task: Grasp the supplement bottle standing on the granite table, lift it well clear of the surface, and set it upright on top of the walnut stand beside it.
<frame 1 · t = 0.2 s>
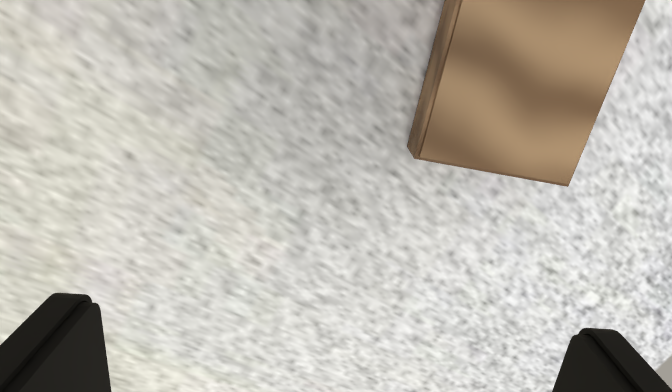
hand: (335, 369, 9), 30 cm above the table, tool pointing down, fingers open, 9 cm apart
walnut stand: (506, 73, 36), on the table
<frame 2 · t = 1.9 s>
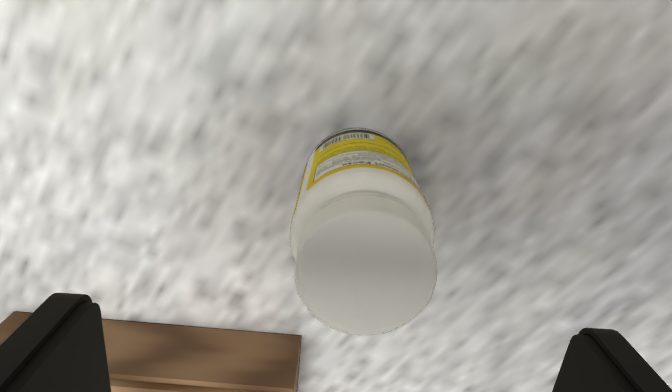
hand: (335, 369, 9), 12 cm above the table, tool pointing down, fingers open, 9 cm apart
supplement bottle: (356, 176, 20), on the table
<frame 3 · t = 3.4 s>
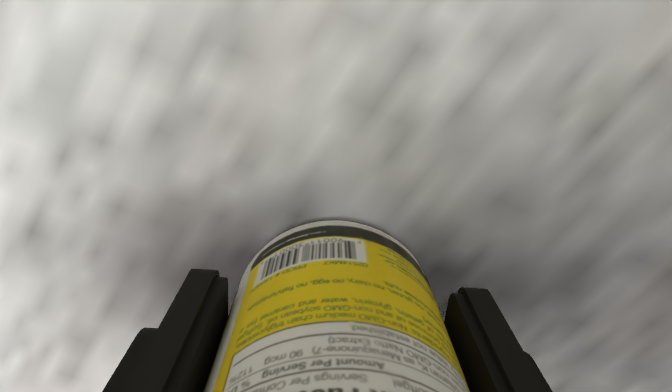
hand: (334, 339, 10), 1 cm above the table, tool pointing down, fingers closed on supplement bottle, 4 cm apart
supplement bottle: (334, 296, 11), on the table, touching gripper
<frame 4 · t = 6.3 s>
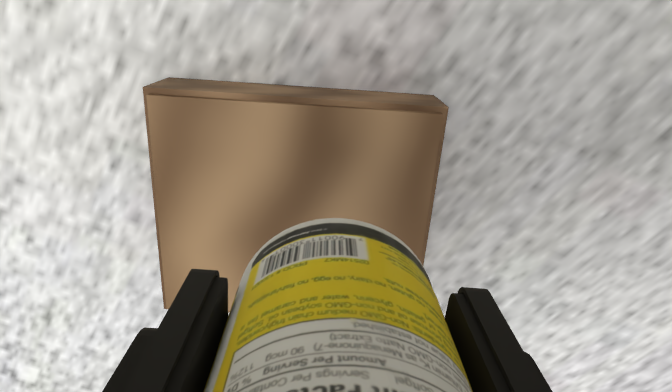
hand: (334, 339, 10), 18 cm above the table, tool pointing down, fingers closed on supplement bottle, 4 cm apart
walnut stand: (298, 192, 28), on the table
supplement bottle: (335, 294, 11), point 16 cm above the table, touching gripper
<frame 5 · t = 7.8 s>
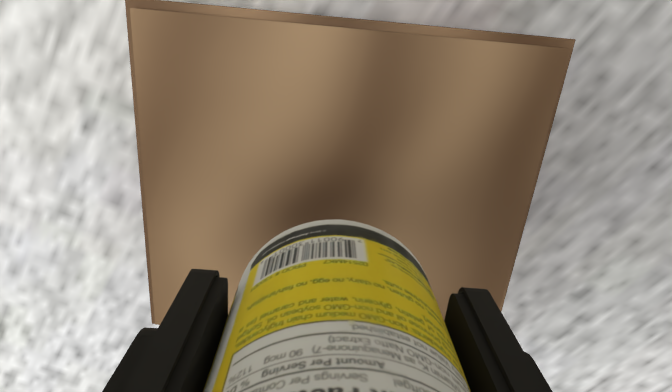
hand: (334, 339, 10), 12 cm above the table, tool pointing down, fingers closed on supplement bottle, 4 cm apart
walnut stand: (336, 169, 20), on the table
supplement bottle: (334, 295, 11), point 10 cm above the table, touching gripper
when the fingers open (7 cm above the table, at t = 9.0 s): supplement bottle drops 1 cm, resting on walnut stand.
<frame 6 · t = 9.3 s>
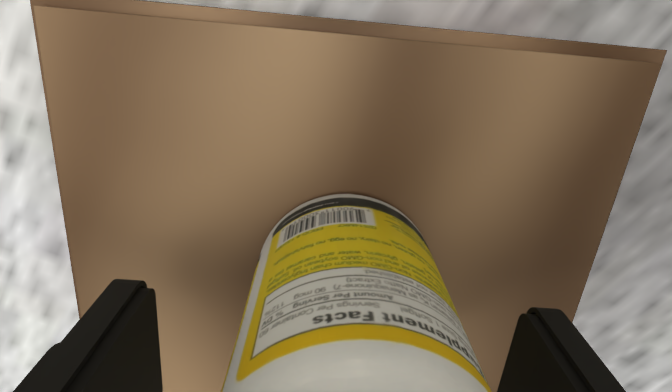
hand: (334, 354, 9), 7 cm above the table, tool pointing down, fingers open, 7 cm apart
walnut stand: (333, 211, 16), on the table
supplement bottle: (344, 264, 13), point 4 cm above the table, touching walnut stand
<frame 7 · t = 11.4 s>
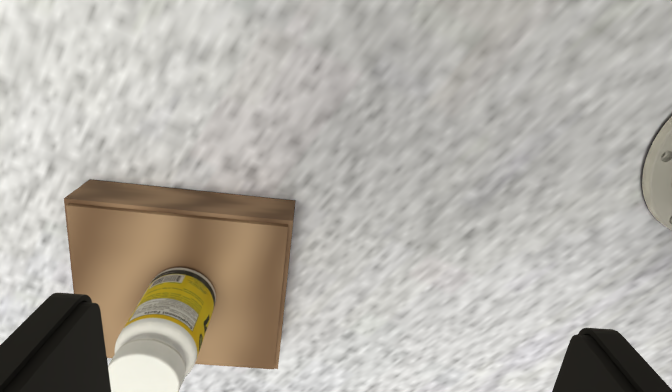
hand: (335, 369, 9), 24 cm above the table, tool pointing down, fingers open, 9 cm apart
walnut stand: (193, 265, 35), on the table
supplement bottle: (184, 292, 32), point 4 cm above the table, touching walnut stand
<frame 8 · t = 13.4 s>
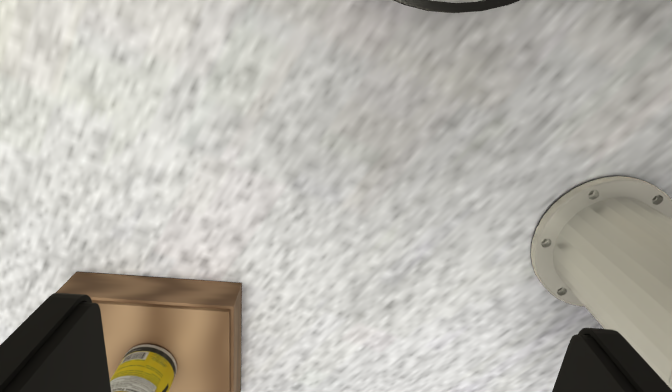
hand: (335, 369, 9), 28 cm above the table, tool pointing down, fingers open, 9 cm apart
walnut stand: (163, 334, 43), on the table
supplement bottle: (152, 362, 40), point 4 cm above the table, touching walnut stand
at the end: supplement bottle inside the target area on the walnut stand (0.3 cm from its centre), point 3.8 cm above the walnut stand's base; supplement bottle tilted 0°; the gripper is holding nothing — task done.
